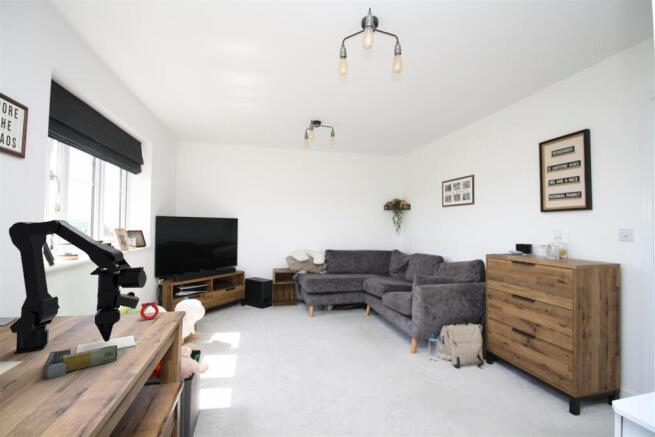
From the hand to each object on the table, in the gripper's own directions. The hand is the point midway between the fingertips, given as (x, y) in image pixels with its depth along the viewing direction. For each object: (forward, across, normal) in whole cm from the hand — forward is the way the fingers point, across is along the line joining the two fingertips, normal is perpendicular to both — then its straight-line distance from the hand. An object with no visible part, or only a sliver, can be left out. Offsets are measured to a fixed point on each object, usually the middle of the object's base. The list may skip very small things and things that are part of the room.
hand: (107, 336), depth 95 cm
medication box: (+4, -13, +4) cm, 14 cm away
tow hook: (+5, +27, -14) cm, 31 cm away
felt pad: (+3, 0, 0) cm, 3 cm away
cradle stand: (+3, -11, +11) cm, 16 cm away
